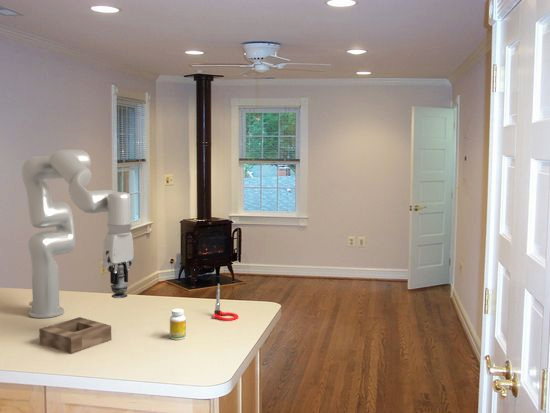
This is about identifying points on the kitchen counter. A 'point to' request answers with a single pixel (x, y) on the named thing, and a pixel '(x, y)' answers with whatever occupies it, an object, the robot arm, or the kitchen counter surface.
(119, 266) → the dark stone chess piece
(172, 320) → the supplement bottle
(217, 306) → the tow hook
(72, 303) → the kitchen counter surface
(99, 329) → the well block
